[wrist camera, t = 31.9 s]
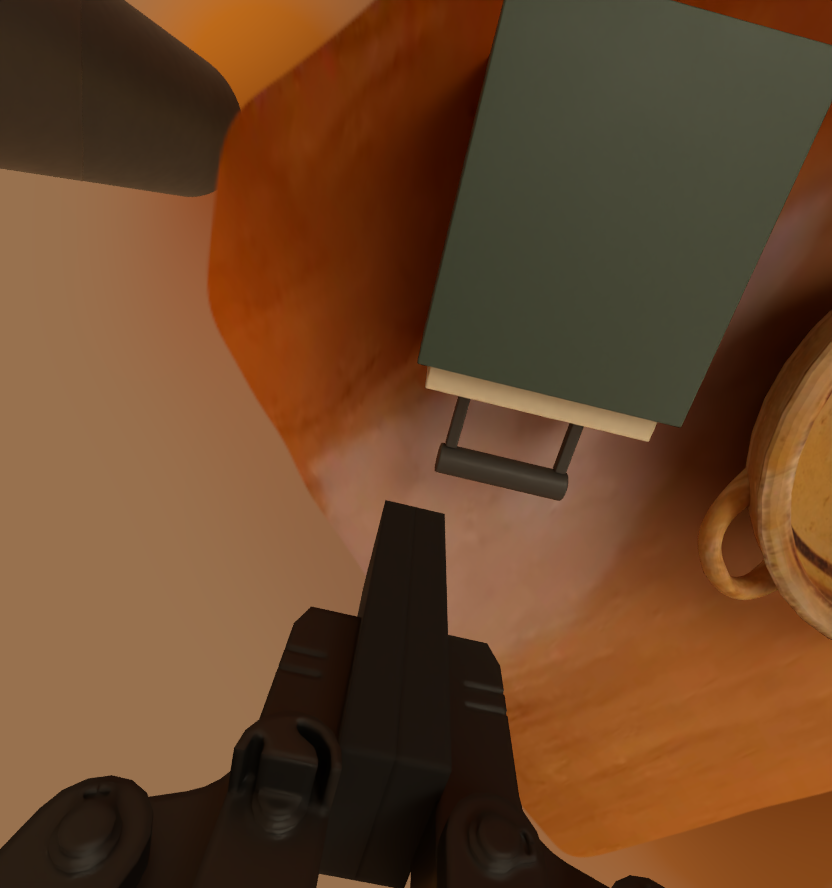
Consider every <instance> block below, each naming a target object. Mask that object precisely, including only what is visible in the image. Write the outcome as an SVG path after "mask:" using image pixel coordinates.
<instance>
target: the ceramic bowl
mask: <svg viewBox="0 0 832 888" xmlns="http://www.w3.org/2000/svg"><path fill="white" fill-rule="evenodd" d="M747 507H748V511H749V515H750V519H751V523H752V527H753V531H754V535H755V538H756V540H757V543H758V545H759V547H760V549H761V551H762V553H763V557H764V560H763V561H762V562H761V563H760V564H759V565H758V566H757V567H756V568H755V569H753V570H752V571H751V572H749V573H748V574H746V575H744V576H740V577H731V576H730V575H729V573H728V571H727V568H726V566H725V564H724V561H723V558H722V552H721V545H722V540H723V536H724V533H725V531H726V529H727V527H728V525H729V524H730V523H731V521H732V520H733V519H734V518H735V516H736V515H738V514H739V513H740V512H741V511H743V510H744V509H745V508H747ZM698 553H699V557H700V562H701V565H702V569H703V572H704V574H705V575H706V577H707V578H708V579H709V581H710V582H711V583H712V585H713V586H714V587H715V588H716V589H717V590H718V591H720V592H721V593H722V594H724V595H726V596H728V597H730V598H733V599H738V600H750V599H755V598H759V597H762V596H765V595H767V594H770V593H772V592H774V591H776V590H779V592H780V594H781V596H782V597H783V598H784V599H785V600H786V601H787V603H788V604H789V605H790V606H791V607H792V608H793V609H794V611H795V612H796V613H797V614H798V615H799V616H800V618H801V619H803V620H804V621H805V622H807V623H808V624H809V625H811V626H812V627H813V628H815V629H816V630H817V631H819V632H820V633H821V634H823V635H824V636H826V637H827V638H829V639H831V640H832V309H831V310H830V311H829V312H828V313H827V314H826V315H825V316H824V317H823V318H822V319H821V320H820V321H819V322H818V323H817V324H816V325H815V326H814V327H813V328H812V329H811V330H810V331H809V333H808V334H807V335H806V337H805V338H804V339H803V340H802V342H801V343H800V344H799V345H798V347H797V348H796V349H795V351H794V352H793V353H792V354H791V356H790V357H789V358H788V360H787V361H786V362H785V363H784V365H783V367H782V369H781V370H780V372H779V374H778V376H777V377H776V379H775V381H774V383H773V384H772V386H771V388H770V390H769V391H768V393H767V395H766V397H765V399H764V401H763V404H762V407H761V409H760V412H759V415H758V417H757V420H756V423H755V425H754V428H753V431H752V434H751V439H750V445H749V450H748V456H747V461H746V468H745V469H744V470H743V471H742V472H741V473H740V474H739V475H738V476H736V477H735V478H734V479H733V480H732V481H731V482H730V483H729V484H728V486H727V487H726V488H725V489H724V490H723V491H722V492H721V493H720V494H719V496H718V497H717V498H716V499H715V501H714V502H713V503H712V505H711V506H710V508H709V509H708V511H707V513H706V515H705V517H704V519H703V521H702V523H701V526H700V529H699V534H698Z"/></svg>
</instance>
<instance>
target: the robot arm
mask: <svg viewBox="0 0 832 888" xmlns="http://www.w3.org/2000/svg"><path fill="white" fill-rule="evenodd" d="M503 691H504V689H503V682H502V675H501V669H500V665H499V663H498V662H497V660H496V658H495V656H494V655H493V653H492V651H491V649H490V648H489V646H488V644H487V643H483V642H478V641H474V640H469V639H464V638H460V637H455V636H451V635H448V621H447V585H446V549H445V514H442V513H438V512H434V511H430V510H425V509H421V508H417V507H412V506H408V505H404V504H400V503H395V502H391V501H387V500H385V504H384V508H383V512H382V516H381V520H380V524H379V528H378V532H377V536H376V540H375V544H374V548H373V552H372V556H371V560H370V564H369V567H368V571H367V575H366V579H365V583H364V588H363V592H362V597H361V602H360V607H359V612H358V616H357V617H356V616H352V615H347V614H343V613H338V612H334V611H329V610H325V609H320V608H315V607H310V609H308V610H307V611H306V612H305V613H304V614H303V615H302V616H301V617H300V618H299V619H298V620H297V621H296V622H295V623H294V625H293V627H292V630H291V633H290V636H289V639H288V641H287V644H286V648H285V650H284V652H283V655H282V658H281V661H280V663H279V667H278V669H277V672H276V675H275V677H274V680H273V683H272V686H271V689H270V691H269V694H268V697H267V700H266V702H265V705H264V708H263V711H262V713H261V716H260V719H259V720H258V721H257V722H255V723H254V724H253V725H251V726H250V727H249V728H247V729H246V730H245V732H244V733H243V735H242V736H241V738H240V740H239V741H238V743H237V744H236V746H235V747H234V753H233V759H232V765H231V771H230V772H229V773H227V774H226V775H225V776H224V777H222V778H221V779H219V780H217V781H215V782H213V783H211V784H209V785H208V786H205V787H202V788H198V789H194V790H190V791H186V792H179V793H172V794H165V795H158V796H152V797H148V795H147V793H146V792H145V791H144V790H143V789H142V788H141V787H140V786H138V785H137V784H136V783H135V782H134V781H133V780H129V779H125V778H121V777H117V776H112V775H111V776H105V777H97V778H90V779H87V780H84V781H81V782H79V783H77V784H75V785H73V786H70V787H68V788H66V789H64V790H62V791H61V792H59V793H58V794H57V795H56V796H54V797H53V798H52V799H51V800H49V801H48V802H47V803H46V804H44V805H43V806H42V807H41V808H39V810H38V811H37V812H36V813H35V814H34V815H33V816H32V817H31V818H30V819H29V820H28V821H27V822H26V823H25V824H24V825H23V826H22V827H21V828H20V829H19V830H18V831H17V832H16V833H15V834H14V835H13V836H12V837H11V839H10V840H9V841H8V842H7V843H6V844H5V845H4V846H3V847H2V848H1V849H0V888H316V886H317V881H318V875H319V874H324V875H329V876H335V877H340V878H345V879H351V880H356V881H361V882H367V883H372V884H377V885H382V886H388V887H393V888H404V887H405V885H406V882H407V880H408V877H409V875H410V872H411V883H410V888H609V887H607V886H606V885H604V884H602V883H600V882H599V881H597V880H595V879H594V878H592V877H590V876H588V875H587V874H585V873H583V872H581V871H580V870H578V869H576V868H574V867H573V866H571V865H569V864H567V863H566V862H564V861H563V860H562V859H560V858H559V857H558V856H556V855H555V854H553V853H552V852H551V851H550V850H549V849H548V848H547V847H546V846H545V845H544V844H543V843H542V842H541V840H540V839H539V837H538V834H537V831H536V830H535V828H534V827H533V825H532V824H531V822H530V821H529V819H528V818H527V816H526V815H525V813H524V812H523V809H522V805H521V802H520V798H519V792H518V785H517V779H516V772H515V765H514V758H513V751H512V744H511V737H510V730H509V724H508V717H507V716H506V711H507V710H506V703H505V696H504V695H503ZM612 888H664V887H663V886H661V885H660V884H657V883H656V882H654V881H652V880H651V879H649V878H644V877H638V876H631V875H629V876H627V877H625V878H623V879H621V880H618V881H616V882H615V883H614V885H613V886H612Z"/></svg>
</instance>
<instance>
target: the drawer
mask: <svg viewBox="0 0 832 888" xmlns="http://www.w3.org/2000/svg"><path fill="white" fill-rule="evenodd" d="M425 388H427V389H431V390H435V391H440V392H444V393H448V394H452V395H456V396H458V399H457V402H456V406H455V410H454V413H453V417H452V420H451V424H450V427H449V431H448V435H447V438H446V444H445V443H441V445H440V447H439V450H438V454H437V458H436V463H435V471H436V472H439V473H443V474H447V475H452V476H456V477H460V478H464V479H469V480H473V481H477V482H481V483H486V484H490V485H494V486H498V487H503V488H507V489H511V490H515V491H520V492H524V493H528V494H532V495H537V496H541V497H545V498H549V499H554V500H558V501H559V500H562V499H563V497H564V495H565V493H566V491H567V487H568V475H567V473H566V471H567V469H568V466H569V464H570V461H571V458H572V456H573V453H574V451H575V448H576V445H577V443H578V440H579V438H580V435H581V432H582V430H583V427H588V428H592V429H596V430H601V431H605V432H609V433H613V434H617V435H621V436H625V437H629V438H634V439H638V440H642V441H646V442H648V441H649V440H650V437H651V435H652V433H653V431H654V428H655V426H656V424H657V422H655V421H651V420H647V419H642V418H638V417H634V416H630V415H626V414H622V413H618V412H614V411H610V410H606V409H602V408H597V407H593V406H589V405H585V404H581V403H577V402H573V401H569V400H565V399H561V398H556V397H552V396H548V395H544V394H540V393H536V392H532V391H528V390H524V389H520V388H515V387H511V386H507V385H503V384H499V383H495V382H491V381H487V380H483V379H479V378H475V377H470V376H466V375H462V374H458V373H454V372H450V371H446V370H442V369H438V368H434V367H429V366H428V367H427V376H426V384H425ZM470 399H473V400H477V401H481V402H485V403H489V404H493V405H497V406H502V407H506V408H510V409H514V410H518V411H522V412H526V413H530V414H535V415H539V416H543V417H547V418H551V419H555V420H559V421H563V422H568V423H569V426H568V429H567V431H566V434H565V437H564V440H563V442H562V445H561V448H560V450H559V453H558V456H557V458H556V461H555V464H554V466H553V469H550V468H546V467H542V466H538V465H534V464H529V463H525V462H521V461H517V460H513V459H508V458H504V457H500V456H496V455H492V454H487V453H483V452H479V451H475V450H471V449H466V448H462V447H458V446H457V444H458V441H459V437H460V434H461V430H462V427H463V424H464V420H465V417H466V413H467V410H468V406H469V403H470Z"/></svg>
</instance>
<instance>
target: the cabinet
mask: <svg viewBox="0 0 832 888" xmlns="http://www.w3.org/2000/svg"><path fill="white" fill-rule="evenodd" d="M831 102H832V45H829V44H825V43H822V42H818V41H815V40H811V39H808V38H804V37H800V36H797V35H793V34H790V33H786V32H783V31H779V30H776V29H772V28H768V27H765V26H761V25H758V24H754V23H751V22H747V21H743V20H740V19H736V18H733V17H729V16H726V15H722V14H718V13H715V12H711V11H708V10H704V9H701V8H697V7H693V6H690V5H686V4H683V3H679V2H676V1H672V0H504V1H503V5H502V9H501V13H500V17H499V20H498V24H497V28H496V32H495V36H494V40H493V44H492V48H491V52H490V56H489V60H488V64H487V68H486V72H485V76H484V81H483V85H482V89H481V93H480V97H479V101H478V106H477V110H476V114H475V118H474V122H473V127H472V131H471V135H470V139H469V143H468V147H467V152H466V156H465V160H464V164H463V168H462V172H461V177H460V181H459V185H458V189H457V193H456V198H455V202H454V206H453V210H452V214H451V218H450V223H449V227H448V231H447V235H446V239H445V243H444V248H443V252H442V256H441V260H440V264H439V268H438V273H437V277H436V281H435V285H434V289H433V294H432V298H431V302H430V306H429V310H428V314H427V319H426V323H425V327H424V332H423V337H422V342H421V347H420V352H419V356H418V361H417V363H418V364H421V365H425V366H429V367H434V368H438V369H442V370H446V371H450V372H454V373H458V374H462V375H466V376H470V377H475V378H479V379H483V380H487V381H491V382H495V383H499V384H503V385H507V386H511V387H515V388H520V389H524V390H528V391H532V392H536V393H540V394H544V395H548V396H552V397H556V398H561V399H565V400H569V401H573V402H577V403H581V404H585V405H589V406H593V407H597V408H602V409H606V410H610V411H614V412H618V413H622V414H626V415H630V416H634V417H638V418H642V419H647V420H651V421H655V422H659V423H663V424H667V425H671V426H675V427H681V426H682V424H683V422H684V420H685V418H686V415H687V413H688V411H689V409H690V407H691V405H692V403H693V400H694V398H695V396H696V394H697V392H698V390H699V387H700V385H701V383H702V381H703V379H704V377H705V374H706V372H707V370H708V368H709V366H710V364H711V361H712V359H713V357H714V355H715V353H716V351H717V348H718V346H719V344H720V342H721V340H722V338H723V336H724V333H725V331H726V329H727V327H728V325H729V323H730V320H731V318H732V316H733V314H734V312H735V310H736V307H737V305H738V303H739V301H740V299H741V297H742V294H743V292H744V290H745V288H746V286H747V284H748V282H749V279H750V277H751V275H752V273H753V271H754V269H755V266H756V264H757V262H758V260H759V258H760V256H761V253H762V251H763V249H764V247H765V245H766V243H767V240H768V238H769V236H770V234H771V232H772V230H773V227H774V225H775V223H776V221H777V219H778V217H779V215H780V212H781V210H782V208H783V206H784V204H785V202H786V199H787V197H788V195H789V193H790V191H791V189H792V186H793V184H794V182H795V180H796V178H797V176H798V173H799V171H800V169H801V167H802V165H803V163H804V160H805V158H806V156H807V154H808V152H809V150H810V148H811V145H812V143H813V141H814V139H815V137H816V135H817V132H818V130H819V128H820V126H821V124H822V122H823V119H824V117H825V115H826V113H827V111H828V109H829V106H830V104H831Z"/></svg>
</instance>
